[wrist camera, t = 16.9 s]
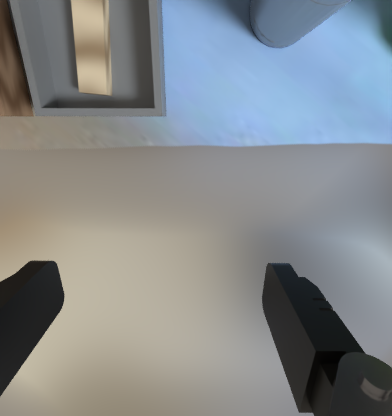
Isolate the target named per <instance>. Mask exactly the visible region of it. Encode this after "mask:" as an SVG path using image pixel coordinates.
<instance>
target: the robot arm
mask: <svg viewBox="0 0 392 416" xmlns="http://www.w3.org/2000/svg"><path fill="white" fill-rule="evenodd" d="M351 1H352V0H251V4H250V21H251V26H252V28H253V31H254V33H255V35H256V36H257V38H258V39H259V40H260V41H261V42H262V43H264V44H266V45H267V46H270V47H273V48H283V47H288V46H290V45H292V44H294V43H295V42H297V41H298V40H299V39H301V38H302V37H304V36H305V35H306V34H308V33H309V32H311V31H312V30H313V29H315V28H316V27H317V26H319V25H320V24H321V23H323V22H324V21H325V20H327V19H328V18H329V17H331V16H332V15H333V14H335V13H336V12H337V11H339V10H340V9H341V8H343V7H344V6H345V5H347V4H348V3H349V2H351ZM63 302H64V291H63V287H62V282H61V278H60V274H59V270H58V266H57V264H56V262H54V261H30V262H28V263H27V264H26V265H25V266H24V267H22V268H21V269H20V270H19V271H18V272H17V273H15V274H14V275H12V276H10V277H8V278H7V279H5V280H3V281H1V282H0V396H1V395H2V393H3V392H4V390H5V389H6V387H7V386H8V385H9V383H10V382H11V380H12V379H13V378H14V376H15V375H16V373H17V372H18V370H19V369H20V368H21V366H22V365H23V363H24V362H25V360H26V359H27V358H28V356H29V355H30V353H31V352H32V350H33V349H34V348H35V346H36V345H37V343H38V342H39V341H40V339H41V338H42V336H43V335H44V333H45V332H46V331H47V329H48V328H49V326H50V325H51V323H52V322H53V321H54V319H55V318H56V316H57V315H58V313H59V312H60V310H61V309H62V306H63ZM262 303H263V310H264V314H265V317H266V320H267V322H268V325H269V328H270V331H271V334H272V337H273V340H274V343H275V345H276V348H277V351H278V354H279V357H280V360H281V362H282V365H283V368H284V371H285V374H286V377H287V379H288V382H289V385H290V387H291V391H292V394H293V397H294V399H295V402H296V405H297V408H298V411H299V412H301V413H307V412H308V413H313V414H314V416H392V368H391V367H390V366H389V365H387V364H386V363H384V362H383V361H381V360H379V359H377V358H375V357H373V356H370V355H367V354H365V352H364V351H363V349H362V348H361V347H360V346H359V344H358V343H357V341H356V340H355V338H354V337H353V336H352V334H351V333H350V331H349V330H348V329H347V327H346V326H345V325H344V323H343V322H342V320H341V319H340V318H339V316H338V315H337V314H336V312H335V311H333V308H332V306H331V305H330V304H329V302H328V301H326V298H325V297H324V295H323V294H322V293H321V291H320V290H319V288H318V287H317V286H316V285H314V284H313V283H312V282H310V281H309V280H308V279H306V278H305V277H298V275H297V274H296V272H295V271H294V270H293V268H292V266H291V265H290V264H289V263H268V264H267V267H266V273H265V281H264V288H263V295H262Z"/></svg>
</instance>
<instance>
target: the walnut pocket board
mask: <svg viewBox="0 0 392 416" xmlns="http://www.w3.org/2000/svg"><path fill="white" fill-rule="evenodd" d="M0 116H33V112H32V107H31V103H30V99H29V94H28V90H27V86H26V81H25V77H24V73H23V68H22V64H21V60H20V55H19V51H18V47H17V42H16V38H15V34H14V30H13V25H12V21H11V17H10V12H9V8H8V4H7V0H0Z"/></svg>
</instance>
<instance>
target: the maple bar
mask: <svg viewBox="0 0 392 416" xmlns="http://www.w3.org/2000/svg"><path fill="white" fill-rule="evenodd" d="M71 5H72V17H73V28H74V40H75V51H76V63H77V74H78V86H79V92H80V93H85V94H93V95H104V96H112V73H111V49H110V25H109V0H71Z"/></svg>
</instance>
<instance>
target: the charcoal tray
mask: <svg viewBox="0 0 392 416" xmlns="http://www.w3.org/2000/svg"><path fill="white" fill-rule="evenodd" d="M10 5H11V9H12V14H13V18H14V22H15V27H16V31H17V36H18V40H19V44H20V49H21V53H22V57H23V62H24V66H25V71H26V75H27V79H28V84H29V88H30V92H31V97H32V101H33V106H34V110H35V114H36V116H166V97H165V73H164V48H163V24H162V0H109V25H110V49H111V73H112V96H104V95H93V94H85V93H80V92H79V86H78V74H77V63H76V51H75V40H74V28H73V17H72V5H71V0H10Z"/></svg>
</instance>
